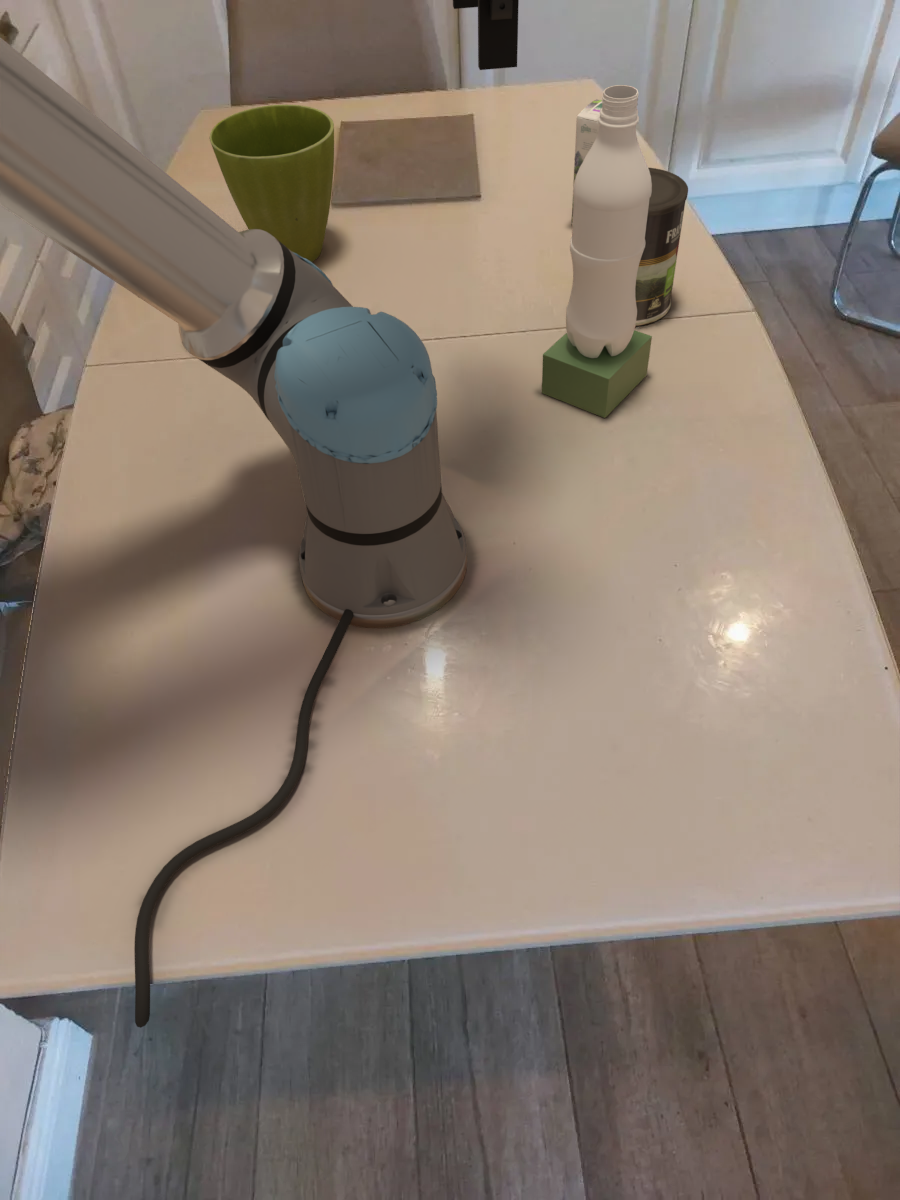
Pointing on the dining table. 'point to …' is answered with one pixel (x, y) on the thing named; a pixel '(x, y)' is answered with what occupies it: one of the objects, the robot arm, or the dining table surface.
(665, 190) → the coffee can
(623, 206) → the water bottle
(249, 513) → the dining table surface
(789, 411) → the dining table surface
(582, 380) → the green block
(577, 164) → the syrup box
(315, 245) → the flower pot
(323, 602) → the robot arm
